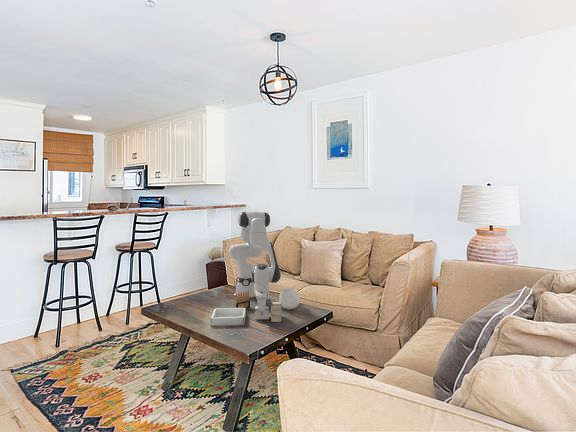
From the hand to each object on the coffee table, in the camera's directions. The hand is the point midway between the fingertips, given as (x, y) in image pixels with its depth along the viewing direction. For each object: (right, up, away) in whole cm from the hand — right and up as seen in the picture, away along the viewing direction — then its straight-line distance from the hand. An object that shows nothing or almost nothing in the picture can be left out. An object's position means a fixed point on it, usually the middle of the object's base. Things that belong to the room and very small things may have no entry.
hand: (261, 314), depth 212 cm
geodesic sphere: (+17, -2, +19) cm, 26 cm away
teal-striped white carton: (0, -3, 0) cm, 3 cm away
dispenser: (+9, -3, +1) cm, 9 cm away
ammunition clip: (-14, -2, +19) cm, 24 cm away
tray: (-20, -3, -1) cm, 20 cm away
